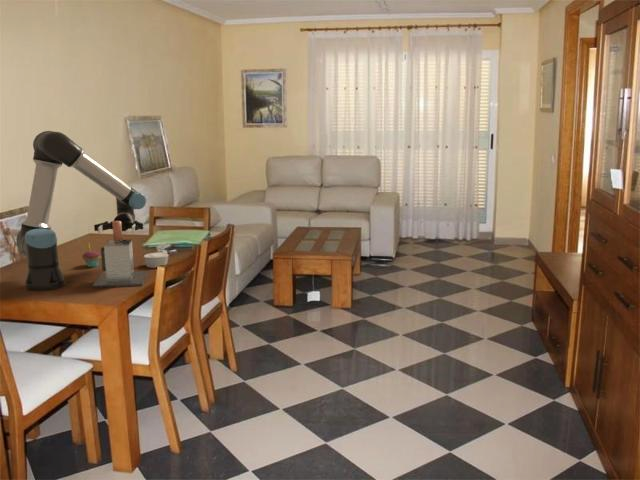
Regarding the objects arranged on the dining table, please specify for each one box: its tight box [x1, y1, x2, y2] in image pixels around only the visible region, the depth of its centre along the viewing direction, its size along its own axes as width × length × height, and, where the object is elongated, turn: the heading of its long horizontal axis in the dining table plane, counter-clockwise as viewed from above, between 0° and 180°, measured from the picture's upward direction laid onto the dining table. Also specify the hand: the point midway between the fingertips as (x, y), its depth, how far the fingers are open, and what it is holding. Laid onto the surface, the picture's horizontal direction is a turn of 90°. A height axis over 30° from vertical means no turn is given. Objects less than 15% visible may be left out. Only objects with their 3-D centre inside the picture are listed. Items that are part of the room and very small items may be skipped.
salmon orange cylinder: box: [111, 220, 124, 243], centre depth 260 cm, size 4×4×24 cm
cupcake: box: [81, 242, 102, 268], centre depth 288 cm, size 9×8×12 cm
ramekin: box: [143, 252, 169, 269], centre depth 289 cm, size 11×11×5 cm
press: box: [91, 239, 148, 289], centre depth 261 cm, size 20×20×17 cm
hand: (116, 230), depth 255 cm, fingers open, 13 cm apart
